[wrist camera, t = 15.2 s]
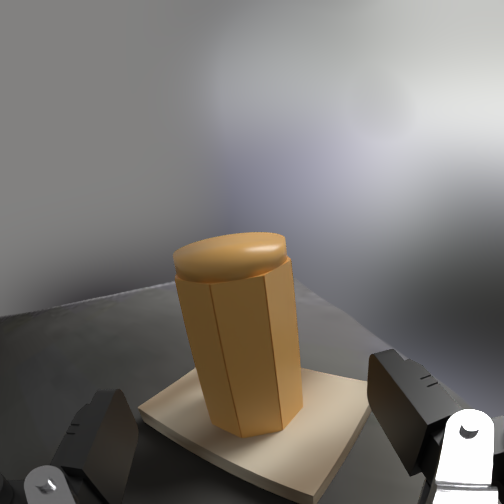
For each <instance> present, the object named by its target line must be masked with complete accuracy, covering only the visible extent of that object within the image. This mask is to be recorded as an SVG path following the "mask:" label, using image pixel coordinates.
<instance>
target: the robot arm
mask: <svg viewBox="0 0 504 504" xmlns="http://www.w3.org/2000/svg"><path fill="white" fill-rule="evenodd" d="M367 399H368V403H369V406H370V408H371V410H372V411H373V413H374V415H375V417H376V418H377V420H378V422H379V423H380V425H381V427H382V429H383V430H384V432H385V434H386V435H387V437H388V439H389V441H390V442H391V444H392V446H393V448H394V449H395V451H396V453H397V455H398V456H399V458H400V460H401V462H402V463H403V465H404V467H405V469H406V470H407V472H408V474H409V476H410V477H411V476H413V475H416V474H418V473H420V472H423V474H424V476H425V477H426V478H425V480H424V483H423V487H422V490H421V493H420V497H419V500H418V503H417V504H497V501H498V499H499V500H500V502H501V503H502V504H504V415H503V416H499V417H495V418H489V417H488V416H487V415H486V414H484V413H482V412H480V411H476V410H463V409H462V408H461V407H460V405H459V404H458V403H457V402H456V401H455V400H454V399H453V398H452V397H451V396H450V394H449V393H448V392H447V391H446V390H445V389H444V388H443V387H442V386H441V385H440V384H438V381H437V380H436V379H435V378H434V377H433V376H432V377H431V374H430V373H429V372H428V371H427V370H426V369H425V368H424V366H423V365H421V364H419V363H417V362H415V361H413V360H411V359H408V360H405V361H404V360H403V359H402V357H401V356H400V355H399V354H398V353H397V352H396V351H395V350H394V349H389V350H386V351H382V352H378V353H374V354H371V355H370V357H369V368H368V382H367ZM66 433H67V434H65V436H64V438H63V440H62V441H61V443H60V445H59V447H58V449H57V451H56V453H55V455H54V457H53V459H52V462H51V464H50V465H49V466H41V467H38V468H36V469H34V470H32V471H31V472H30V473H29V474H28V475H27V477H26V479H25V480H8V481H7V480H6V479H5V477H4V476H3V475H2V474H1V473H0V504H122V500H123V495H124V491H125V487H126V483H127V479H128V476H129V472H130V468H131V464H132V460H133V457H134V453H135V449H136V445H137V442H138V435H139V434H138V426H137V423H136V421H135V419H134V416H133V414H132V412H131V410H130V408H129V405H128V403H127V401H126V398H125V396H124V394H123V392H122V391H121V390H120V389H99V390H97V392H96V393H95V395H94V397H93V399H92V401H91V403H90V404H86V405H85V406H84V407H82V408H81V409H80V410H79V411H78V412H77V413H76V415H75V417H74V418H73V420H72V422H71V426H69V428H68V430H67V432H66Z"/></svg>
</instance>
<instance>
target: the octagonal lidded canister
mask: <svg viewBox="0 0 504 504" xmlns="http://www.w3.org/2000/svg"><path fill="white" fill-rule="evenodd" d="M173 259H174V264H175V269H176V276H175V283H176V287H177V292H178V297H179V301H180V306H181V310H182V314H183V319H184V323H185V327H186V331H187V335H188V339H189V343H190V347H191V351H192V355H193V359H194V363H195V367H196V370H197V374H198V378H199V381H200V385H201V389H202V392H203V396H204V399H205V403H206V406H207V409H208V413H209V416H210V419H211V423H212V424H213V425H215V426H217V427H219V428H221V429H223V430H225V431H227V432H229V433H232V434H234V435H236V436H238V437H240V438H247V437H253V436H258V435H263V434H268V433H273V432H278V431H282V430H284V429H285V427H286V426H287V425H288V424H289V423H290V422H291V421H292V419H293V418H294V417H295V416H296V415H297V414H298V412H299V411H300V410H301V409H302V408H303V395H302V380H301V366H300V352H299V340H298V327H297V316H296V304H295V293H294V283H293V273H292V263H291V259H290V258H289V257H288V256H287V251H286V243H285V237H284V236H282V235H279V234H275V233H267V232H251V233H238V234H230V235H224V236H218V237H213V238H209V239H205V240H201V241H197V242H194V243H191V244H189V245H186V246H184V247H182V248H180V249H178V250H176V251H175V252H174V254H173Z"/></svg>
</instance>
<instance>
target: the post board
mask: <svg viewBox="0 0 504 504" xmlns="http://www.w3.org/2000/svg"><path fill="white" fill-rule="evenodd" d="M301 380H302V395H303V408H302V409H301V410H300V411H299V412H298V414H297V415H296V416H295V417H294V418H293V419H292V421H291V422H290V423H289V424H288V425H287V426H286V427H285V429H284V430H282V431H278V432H273V433H268V434H263V435H258V436H253V437H247V438H240V437H238V436H236V435H234V434H232V433H229V432H227V431H225V430H223V429H221V428H219V427H217V426H215V425H213V424H212V423H211V419H210V416H209V413H208V409H207V406H206V403H205V399H204V396H203V392H202V389H201V385H200V381H199V378H198V374H197V370H196V368H195V369H193V370H192V371H190V372H189V373H188V374H186V375H185V376H183V377H182V378H180V379H179V380H178V381H176V382H175V383H173V384H172V385H170V386H169V387H167V388H166V389H164V390H163V391H161V392H160V393H158V394H157V395H156V396H154V397H153V398H151V399H150V400H148V401H147V402H145V403H144V404H142V405H140V406H139V407H138V409H139V412H140V414H141V416H142V418H143V421H144V422H145V423H147V424H148V425H150V426H151V427H153V428H154V429H156V430H157V431H159V432H160V433H162V434H163V435H165V436H166V437H168V438H169V439H171V440H173V441H174V442H176V443H177V444H179V445H181V446H182V447H184V448H186V449H187V450H189V451H191V452H192V453H194V454H196V455H198V456H199V457H201V458H203V459H205V460H206V461H208V462H210V463H212V464H214V465H216V466H217V467H219V468H221V469H223V470H225V471H227V472H229V473H231V474H233V475H235V476H237V477H239V478H241V479H243V480H245V481H247V482H249V483H252V484H254V485H256V486H258V487H260V488H263V489H265V490H267V491H270V492H272V493H274V494H277V495H279V496H281V497H284V498H286V499H289V500H292V501H294V502H297V503H299V504H317V502H318V501H319V499H320V498H321V496H322V495H323V494H324V492H325V491H326V489H327V487H328V486H329V484H330V483H331V481H332V480H333V478H334V477H335V475H336V473H337V472H338V470H339V469H340V467H341V465H342V464H343V462H344V460H345V459H346V457H347V455H348V454H349V452H350V450H351V448H352V447H353V445H354V443H355V441H356V439H357V438H358V436H359V434H360V432H361V430H362V428H363V426H364V425H365V423H366V421H367V419H368V417H369V415H370V413H371V411H372V410H371V408H370V406H369V403H368V399H367V382H366V381H361V380H356V379H351V378H345V377H341V376H336V375H331V374H326V373H322V372H317V371H313V370H308V369H304V368H301Z"/></svg>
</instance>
